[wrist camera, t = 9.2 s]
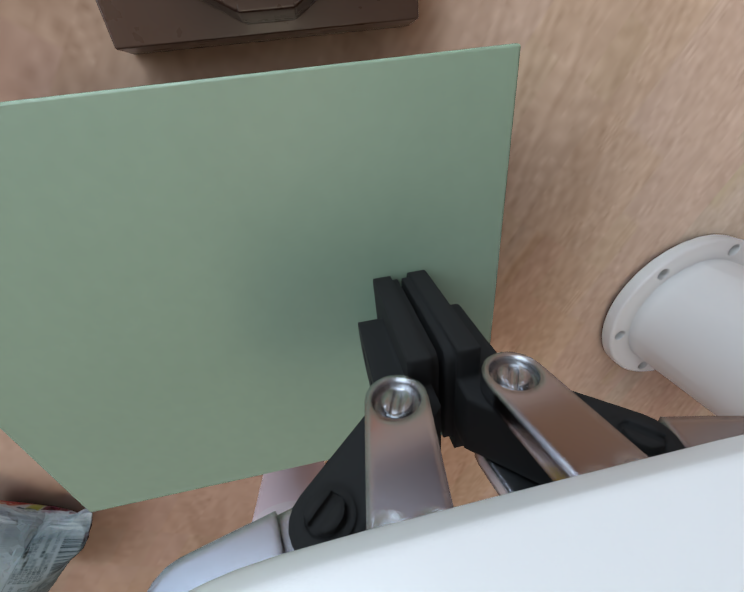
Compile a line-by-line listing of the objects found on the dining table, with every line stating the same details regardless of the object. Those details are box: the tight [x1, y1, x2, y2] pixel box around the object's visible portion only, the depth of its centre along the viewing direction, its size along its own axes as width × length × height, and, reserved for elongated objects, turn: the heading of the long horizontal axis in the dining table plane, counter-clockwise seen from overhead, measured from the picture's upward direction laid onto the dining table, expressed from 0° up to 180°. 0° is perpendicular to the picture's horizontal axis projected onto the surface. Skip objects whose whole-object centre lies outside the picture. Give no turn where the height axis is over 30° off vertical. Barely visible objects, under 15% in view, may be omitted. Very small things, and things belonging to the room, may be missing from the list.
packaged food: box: [0, 501, 93, 592], centre depth 25 cm, size 9×12×5 cm
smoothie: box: [252, 461, 325, 522], centre depth 22 cm, size 6×6×14 cm
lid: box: [0, 43, 521, 512], centre depth 11 cm, size 17×14×1 cm
